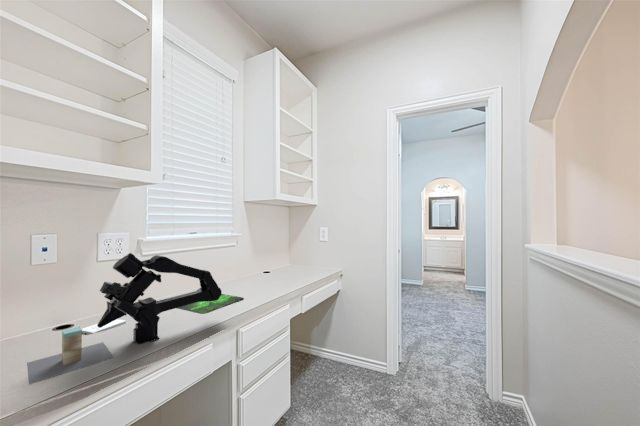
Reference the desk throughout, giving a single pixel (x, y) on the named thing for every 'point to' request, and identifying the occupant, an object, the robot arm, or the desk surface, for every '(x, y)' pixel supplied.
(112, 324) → the external hard drive
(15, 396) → the desk surface
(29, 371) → the rubber mat
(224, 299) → the mouse mat
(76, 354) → the birch block
